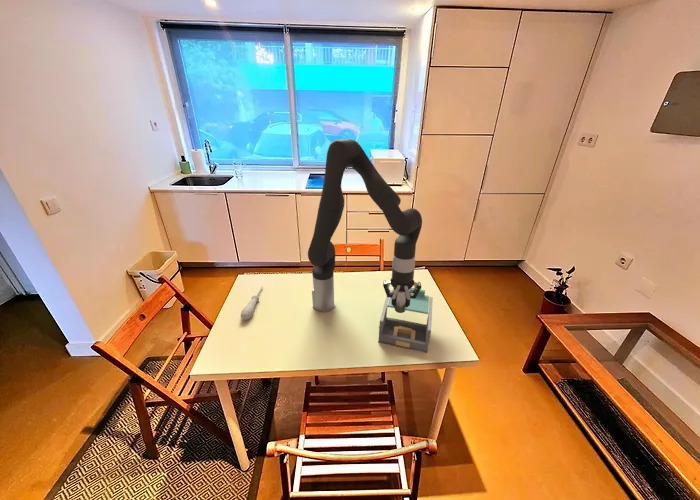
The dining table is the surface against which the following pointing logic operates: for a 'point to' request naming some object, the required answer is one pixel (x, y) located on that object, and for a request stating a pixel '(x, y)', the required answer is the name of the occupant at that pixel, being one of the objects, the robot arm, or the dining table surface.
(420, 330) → the housing
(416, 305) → the lid
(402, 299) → the pin
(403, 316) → the dining table surface
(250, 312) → the screwdriver
